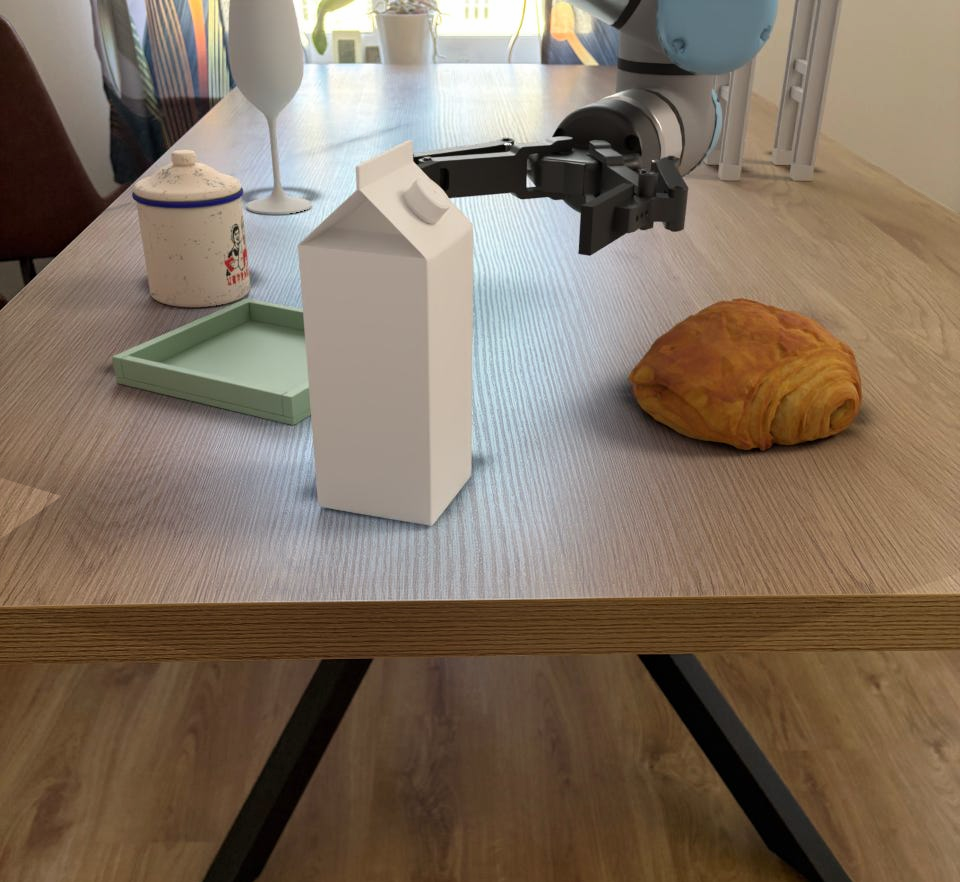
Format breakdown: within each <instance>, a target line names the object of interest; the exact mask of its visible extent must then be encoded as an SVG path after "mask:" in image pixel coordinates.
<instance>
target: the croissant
mask: <svg viewBox="0 0 960 882" xmlns="http://www.w3.org/2000/svg"><path fill="white" fill-rule="evenodd" d="M861 379H862V378H861V374H860V372H859V366H858V363H857V359H856V355H855V353H854V351H853V349H852V348H851V347H849V345H848V344H846V343H845V342H843V341H842V340H841V339H839V338H837V337H836V336H834V335H833V334H832V333H830V331H828V330H827V329H826V328H825V327H823V326H822V325H821V324H819V323H818V322H817V321H815V320H814V319H812V318H810V317H808V316H805V315H803V314H801V313H798V312H796V311H793V310H785V309H783V308H780V307H777V306H774V305H769V304H764V303H762V302H759V301H756V300H753V299H747V298H744V297H740V298H739V297H738V298H733V299H732V300H719V301H717V302H714V303H713V304H711V305H708V306H706V307H704V308H703V309H701V310H700V311H698V312H696V313H695V314H690V315H688V316H687V317H685V319H683V320H682V321H680V322H677V323H676V324H674V325H673V326H672V327H671V328H670V329H669V330H668V331H666V332H665V333H663V334H661V335H660V336H658V338H656V340H654V341H653V343H652V344H651V346H650V348H649V349H648V350H647V351H646V352H645V354H644V355H643V357H642V358H641V359H640V360H639V362H638V363H636V365H635V366H634V367H633V368H632V370H631V372H630V373H629V375H628V377H627V380H629V382H630V383H631V385H632V386H633V387H632V388H631V391H632V393H633V395H634V398H635V399H636V402H637V404H638V405H639V406H640V408H641V409H642V410H643V411H644V412H646V414H649V415H650V416H651V417H652V418H653V419H654V420H655V421H657V422H659V423H661V424H663V425H665V426H667V427H668V428H671V429H672V430H674V432H675V431H676V432H677V433H678V434H680V435H683V436H685V437H687V438H691V439H695V440H699V441H704V442H714V443H725V444H726V445H729V446H733V447H735V448H736V449H738V450H744V451H745V450H746V451H749V450H752V449H758V448H759V449H760V451H763V452H764V451H766V450H767V449H770V448H771V447H772V446H773V444H777V445H781V446H793V445H796V444H803V443H806V442H808V441H811V442H812V441H815V440H820V439H825V438H828V437H829V436H834V435H837V434H839V433H841V432H842V431H844V430H846V429H848V428H849V427H850V426H851V425H852V424H853V422H854V421H855V419H856V417H857V415H858V413H859V411H860V410H861V408H862V402H863V391H862V380H861Z"/></svg>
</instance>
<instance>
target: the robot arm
mask: <svg viewBox="0 0 960 882" xmlns="http://www.w3.org/2000/svg"><path fill="white" fill-rule="evenodd" d="M563 1H564V2H565V3H567V4H570V5H571V6H572V7H575V8H577V9H579V10H581V11H582V12H584V13H587V14H588V15H590V16H591V17H594V18H595V19H597V20H599V21H601V22H603V23H605V24H607V25H608V26H610V27H613V28H614V29H615V30H617V31H618V32H619V43H618V45H619V46H618V57H617V60H616V61H617V62H616V63H617V65H616V76H615V78H616V79H615V91H614V92H615V93H614V94H611V95H608V96H605V97H604V98H601V99H600V100H597V101H595V102H592V103H589V104H586V105H584V106H583V105H582V106H581V107H578V108H577V109H575V110H573V111H571V112H570V113H568V115H566V116H565V117H564V118H563V119H562V120H561V122H560V123H559V124H558V125H557V127H556V129H555V130H554V132H553V135H552V136H550V137H547V138H546V139H544V141H535V142H534V141H533V142H519V143H515V140H514V138H512V137H511V138H510V137H507V136H506V137H505V136H504V137H502V138H499V139H495V140H492V141H488V142H482V143H475V144H468V145H459V146H451V147H445V148H439V149H429V150H423V151H415V152H413V162H414V163H415V164H416V165H417V166H418V167H419V168H420V169H421V170H422V171H423V172H424V173H425V174H426V175H427V176H428V177H429V178H430V179H431V180H432V181H433V182H435V183H436V184H437V185H438V186H439V187H440V188H441V189H442V190H443V191H444V192H445V193H446V195H447V196H448V198H449V199H458V198H468V197H482V196H492V195H503V194H510V195H512V196H514V197H516V198H517V199H519V200H533V199H543V198H549V199H550V200H553V201H561V200H562V201H563V202H564V204H566V205H567V206H568V207H569V208H571V209H572V210H573V211H575V212H577V213H578V214H580V217H579V233H578V235H579V237H578V255H581V256H589V257H591V256H593V255H594V254H596V253H598V252H599V251H600V250H602V249H603V248H605V247H607V246H609V245H610V244H612V243H613V242H615V241H617V240H619V239H620V238H621V237H623V236H625V235H626V234H632V233H635V232H636V231H638V230H640V231H648V230H651V229H653V228H654V225H655V224H654V223H661V224H662V226H663V227H664V229H665V230H667V231H670V232H673V233H677V232H682V231H684V230H685V223H686V216H687V215H686V214H687V205H688V204H687V203H688V195H689V186H688V185H687V183H686V181H685V180H684V177H685V176H687V175H690V173H692V172H693V171H695V170H697V168H698V167H699V166H701V164H702V163H703V160H704V159H705V158H707V157H708V155H709V154H710V153H711V152H712V150H713V149H714V147H715V146H716V144H717V142H718V139H719V136H720V133H721V129H722V109H721V106H720V102H719V100H718V97H717V95H716V93H715V91H714V90H713V88H712V87H713V79H714V75H722V74H726V73H730V72H733V71H735V70H737V69H739V68H741V67H742V66H744V65H746V64H747V63H748V62H749V61H751V60H752V59H753V58H754V57H755V56H756V55H757V56H758V54H759V53H760V52H761V51H762V49H763V48H764V46H765V45H766V44H767V42H768V41H769V39H771V34H772V32H773V30H774V27H775V24H776V21H777V16H778V12H779V0H563ZM757 56H756V57H757ZM528 179H529V180H530V181H531V183H532V184H533V185H534V186H527V184H528Z"/></svg>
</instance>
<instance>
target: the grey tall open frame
mask: <svg viewBox="0 0 960 882" xmlns="http://www.w3.org/2000/svg"><path fill="white" fill-rule="evenodd" d="M842 5H843V0H794V3H793V9H792V10H793V11H792V17H791V22H790V30H789V35H788V36H789V37H788V44H787V51H786V57H785V64H784V71H783V78H782V84H781V91H780V98H779V104H778V110H777V118H776V126H775V130H774V131H775V132H774V137H773V138H774V139H773V145H772V146H773V147H772V153H771V157H770V158H771V159H770V162H771V163H772V164H773V165H774V166H790V170H789V178H790V179H791V180H792V181H793V182H794V181H795V182H813V178H814V172H815V166H816V160H817V154H818V149H819V142H820V136H821V132H822V125H823V119H824V112H825V106H826V101H827V95H828V89H829V83H830V76H831V71H832V65H833V59H834V54H835V47H836V41H837V35H838V29H839V24H840V23H839V22H840V17H841V11H842ZM757 56H758V54H757V55H756V56H755V57H754V58H753V59H752V60H751V61H749V62H748V63H747V64H746V65H744V66H742V67H741V68H739V69H737V70H735V71H733V72H730V73H726V74H722V75H714V79H713V87H712V88H713V90H714V91H715V93H716V95H717V97H718V100H719V102H720V106H721V109H722V129H721V133H720V136H719V139H718V142H717V144H716V146H715V147H714V149H713V150H712V152H711V153H710V154H709V155H708V157H707V158H705V159H704V160H703V161H702V163H704V164H705V165H706V166H718V172H717V178H718V179H719V180H720V181H728V182H729V181H730V182H731V181H732V182H733V181H735V182H736V181H741V176H742V168H743V162H744V161H743V160H744V154H745V145H746V137H747V130H748V123H749V116H750V107H751V100H752V95H753V94H752V93H753V85H754V78H755V70H756V63H757Z"/></svg>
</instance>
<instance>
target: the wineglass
mask: <svg viewBox="0 0 960 882" xmlns="http://www.w3.org/2000/svg"><path fill="white" fill-rule="evenodd" d="M228 6H229V7H228V31H227V32H228V60H229V68H230V73H231V77H232V79H233V81H234V83H235V85H236V88H237V89H238V90H239V91H240V93H241V94H242V95H243V97H244V98H245V99H246V100H247V101H248V102H249V103H251V104H252V105H253V106H254V107H255V108H256V109H257V110H258V111H259V112H261V113H262V114H263V115H264V118H265V119H266V121H267V125H268V131H269V143H270V154H271V165H272V177H273V188H272V191H271V193H270V195H268V196H267V197H263V198H262V197H261V198H257V199H253V200H251V201H248V202H247V203H246V205H245V206H246V210H247V211H250V212H252V213H254V214H261V215H272V216H273V215H275V216H277V215H291V214H290V213H293V214H297V213H296V212H299V213H301V212H300V211H303V212H305V211H304V210H306V211H308V210H310V209H311V208H312V207H313V203H312V202H311V201H310V200H308V199H306V198H301V197H295V196H290V195H287V194H286V192H285V190H284V188H283V186H282V182H281V173H280V172H281V171H280V160H279V148H278V137H277V120H278V117H279V116H280V115H279V114H280V113H282V111H283V110H284V109H285V108H286V107H287V106H288V104H289V103H290V102H291V101H292V100H293V99H294V97H295V96H296V94H297V93H298V91H299V89H300V87H301V85H302V83H303V77H304V67H305V66H304V65H305V64H304V63H305V62H304V52H303V45H302V39H301V33H300V32H301V31H300V28H299V27H300V26H299V21H298V17H297V12H296V8H295V4H294V0H229V5H228ZM311 206H312V207H311ZM310 207H311V208H310ZM309 208H310V209H309ZM307 209H308V210H307Z"/></svg>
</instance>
